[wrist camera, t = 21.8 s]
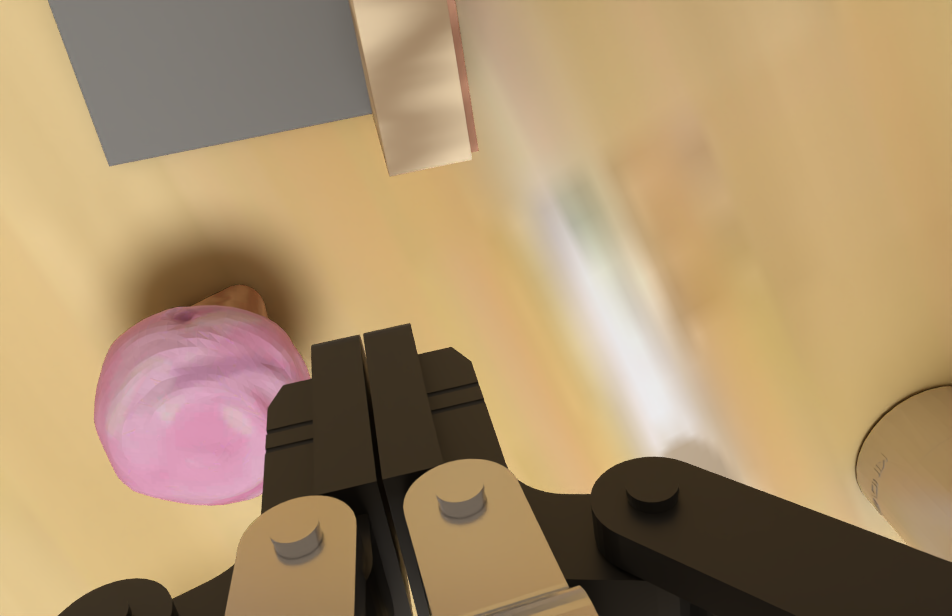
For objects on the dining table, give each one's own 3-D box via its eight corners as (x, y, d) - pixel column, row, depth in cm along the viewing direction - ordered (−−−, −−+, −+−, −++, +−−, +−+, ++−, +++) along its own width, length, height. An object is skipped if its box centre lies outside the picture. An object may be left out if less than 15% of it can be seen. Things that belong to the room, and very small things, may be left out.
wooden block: (431, -156, 27) (480, 157, 31) (404, -153, 34) (447, 103, 38) (324, -137, 26) (389, 176, 31) (319, -138, 33) (373, 117, 38)
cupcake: (332, 385, 44) (340, 515, 36) (162, 429, 44) (127, 572, 35) (281, 226, 40) (276, 329, 31) (92, 272, 40) (33, 390, 31)
